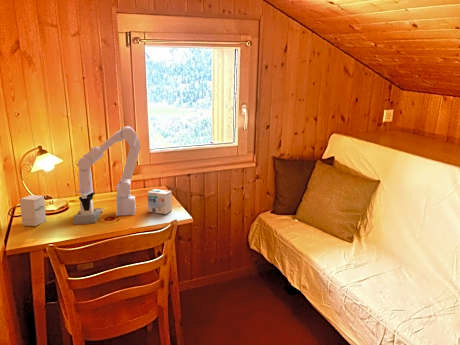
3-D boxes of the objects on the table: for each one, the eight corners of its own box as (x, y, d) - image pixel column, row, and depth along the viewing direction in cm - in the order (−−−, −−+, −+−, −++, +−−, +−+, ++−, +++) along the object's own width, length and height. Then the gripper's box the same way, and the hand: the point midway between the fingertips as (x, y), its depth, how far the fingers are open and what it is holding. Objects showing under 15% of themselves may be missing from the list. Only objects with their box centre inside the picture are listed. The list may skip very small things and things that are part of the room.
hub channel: (100, 213, 185) (99, 206, 185) (95, 223, 172) (95, 214, 171) (79, 214, 184) (78, 207, 183) (73, 224, 170) (72, 216, 169)
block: (82, 211, 183) (81, 200, 181) (93, 211, 184) (92, 199, 182) (80, 214, 178) (79, 203, 177) (91, 214, 179) (90, 202, 178)
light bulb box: (147, 211, 189) (147, 191, 187) (154, 208, 195) (154, 188, 193) (166, 214, 185) (165, 193, 183) (172, 210, 191) (172, 190, 189)
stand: (104, 209, 192) (104, 207, 192) (102, 212, 187) (102, 211, 186) (92, 209, 191) (92, 208, 191) (90, 213, 186) (90, 212, 185)
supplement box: (36, 226, 167) (33, 199, 165) (21, 225, 169) (18, 198, 166) (47, 221, 174) (44, 195, 172) (33, 219, 176) (30, 194, 173)
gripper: (80, 178, 184) (82, 204, 187) (73, 186, 170) (76, 213, 173) (94, 178, 185) (96, 204, 188) (89, 185, 171) (91, 213, 174)
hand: (87, 208), depth 180 cm, fingers closed on block, 5 cm apart
